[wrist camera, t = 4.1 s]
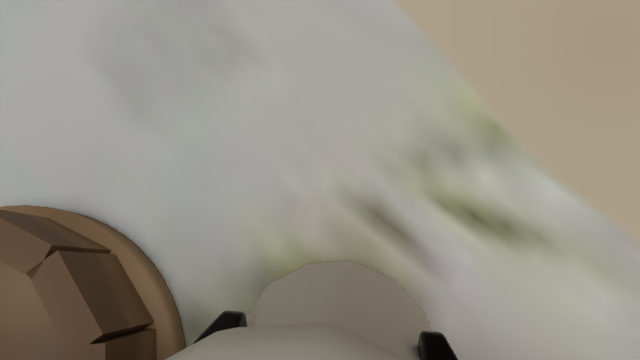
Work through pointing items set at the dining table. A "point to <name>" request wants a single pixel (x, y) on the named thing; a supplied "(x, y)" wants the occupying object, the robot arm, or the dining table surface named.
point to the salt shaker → (322, 320)
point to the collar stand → (79, 291)
